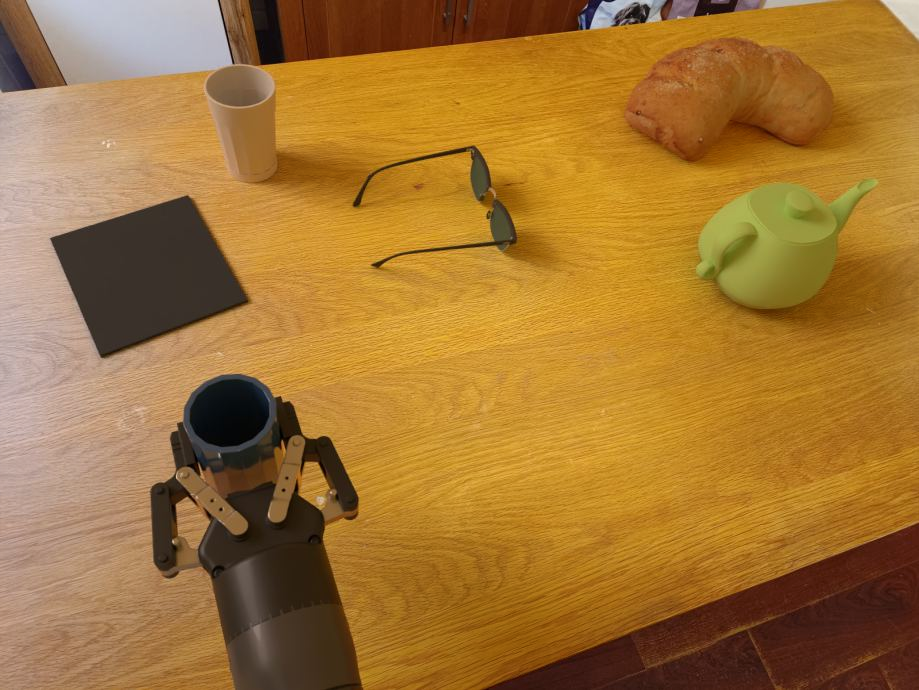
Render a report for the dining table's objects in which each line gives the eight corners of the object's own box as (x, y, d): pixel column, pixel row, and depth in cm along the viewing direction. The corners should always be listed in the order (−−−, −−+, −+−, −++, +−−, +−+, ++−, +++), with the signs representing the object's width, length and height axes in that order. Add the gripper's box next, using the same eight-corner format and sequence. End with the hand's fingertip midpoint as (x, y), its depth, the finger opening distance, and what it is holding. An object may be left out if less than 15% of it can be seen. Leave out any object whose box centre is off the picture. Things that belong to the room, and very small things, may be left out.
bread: (772, 63, 121) (802, 6, 112) (839, 145, 110) (877, 89, 102) (593, 81, 112) (612, 21, 104) (648, 171, 102) (673, 112, 94)
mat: (101, 357, 76) (99, 355, 76) (50, 240, 84) (49, 237, 84) (248, 301, 82) (247, 299, 82) (188, 197, 90) (188, 194, 90)
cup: (206, 166, 93) (188, 86, 83) (251, 135, 97) (239, 55, 87) (253, 196, 91) (240, 118, 81) (297, 163, 95) (290, 84, 85)
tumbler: (226, 528, 57) (203, 467, 48) (197, 464, 59) (169, 395, 50) (300, 492, 59) (290, 428, 50) (268, 432, 62) (254, 361, 53)
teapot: (788, 212, 101) (840, 136, 90) (860, 294, 94) (925, 222, 83) (655, 248, 94) (693, 171, 83) (721, 340, 87) (772, 269, 76)
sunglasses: (347, 188, 94) (346, 158, 90) (472, 172, 98) (477, 143, 94) (377, 288, 85) (378, 260, 81) (513, 266, 90) (521, 238, 86)
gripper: (397, 578, 46) (323, 362, 54) (156, 664, 42) (115, 415, 50) (392, 610, 52) (326, 412, 60) (182, 688, 48) (141, 463, 56)
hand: (231, 414), depth 55 cm, fingers closed on tumbler, 6 cm apart
